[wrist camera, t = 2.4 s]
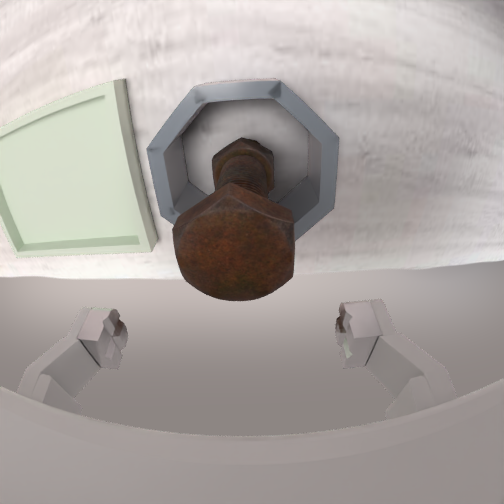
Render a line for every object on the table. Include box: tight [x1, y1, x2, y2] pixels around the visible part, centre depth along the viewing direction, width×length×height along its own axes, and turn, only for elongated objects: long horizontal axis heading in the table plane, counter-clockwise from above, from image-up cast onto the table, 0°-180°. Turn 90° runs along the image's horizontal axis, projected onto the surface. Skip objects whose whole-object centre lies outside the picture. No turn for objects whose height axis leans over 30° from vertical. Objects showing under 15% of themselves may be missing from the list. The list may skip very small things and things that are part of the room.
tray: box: [0, 79, 158, 258], centre depth 24 cm, size 22×17×2 cm
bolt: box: [172, 138, 295, 301], centre depth 18 cm, size 6×5×15 cm
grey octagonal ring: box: [147, 78, 339, 241], centre depth 22 cm, size 13×13×6 cm
